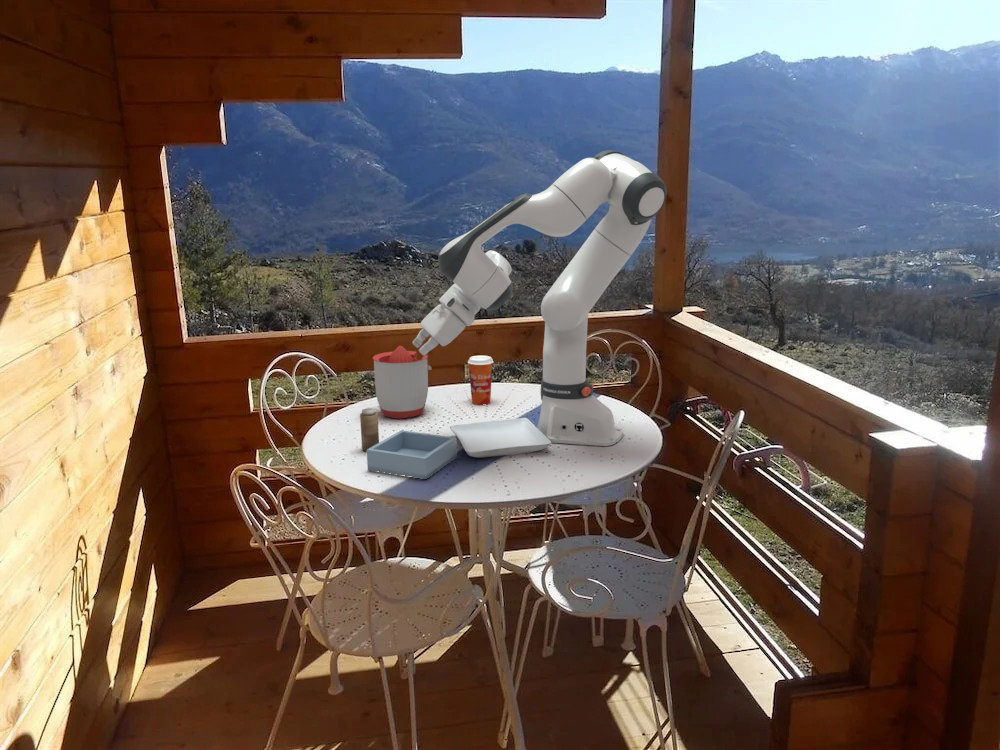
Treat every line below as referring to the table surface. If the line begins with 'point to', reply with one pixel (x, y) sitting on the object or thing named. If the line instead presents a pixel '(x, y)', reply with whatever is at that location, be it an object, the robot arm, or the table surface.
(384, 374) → the citrus juicer
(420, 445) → the slate blue bin
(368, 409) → the walnut pepper mill
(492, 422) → the salad plate
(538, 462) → the table surface
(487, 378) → the paper cup
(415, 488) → the table surface
